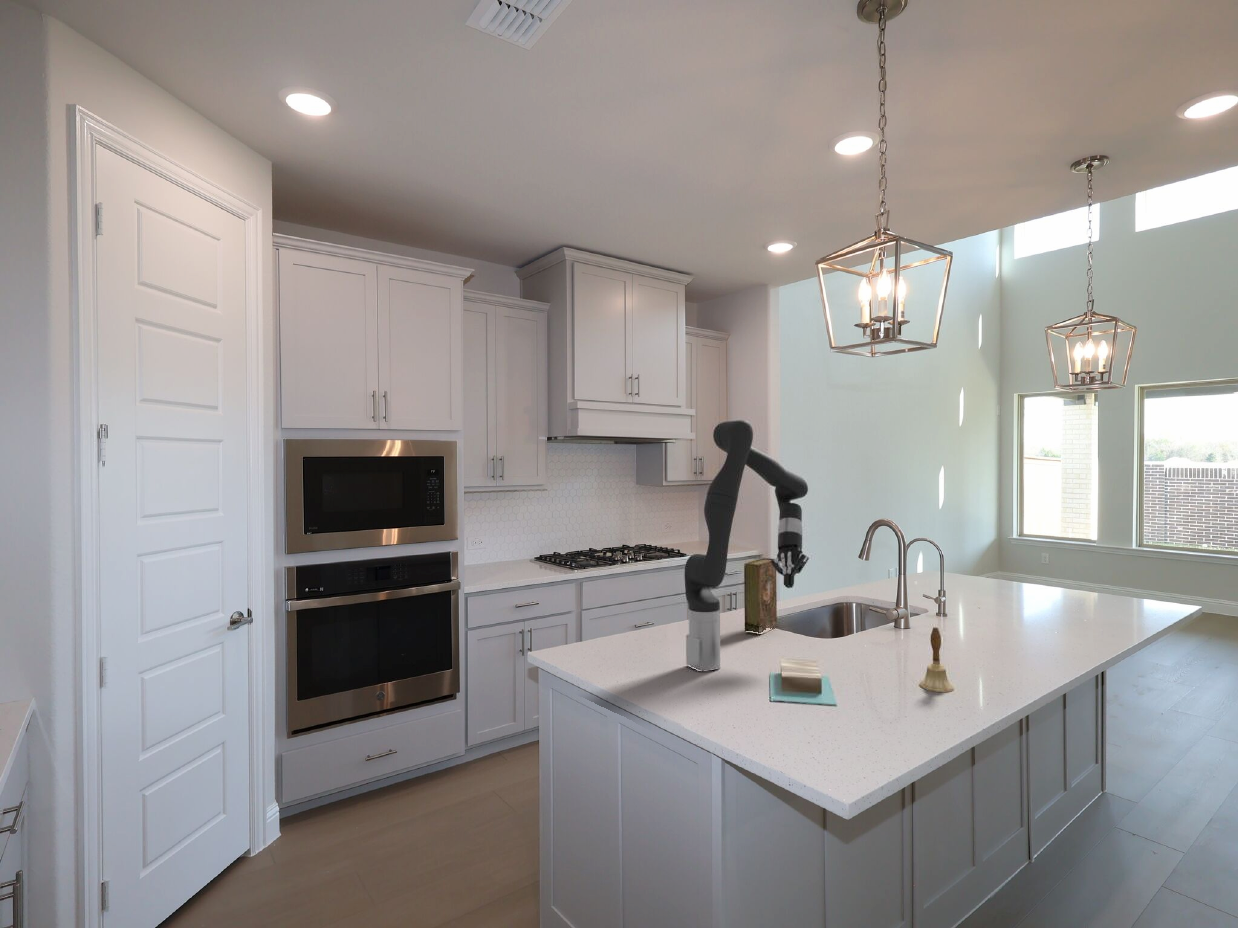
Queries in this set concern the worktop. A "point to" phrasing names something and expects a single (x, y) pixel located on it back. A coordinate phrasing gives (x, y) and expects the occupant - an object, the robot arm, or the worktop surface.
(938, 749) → the worktop surface
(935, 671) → the hand bell
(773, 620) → the book
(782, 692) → the mat
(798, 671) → the block
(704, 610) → the robot arm
